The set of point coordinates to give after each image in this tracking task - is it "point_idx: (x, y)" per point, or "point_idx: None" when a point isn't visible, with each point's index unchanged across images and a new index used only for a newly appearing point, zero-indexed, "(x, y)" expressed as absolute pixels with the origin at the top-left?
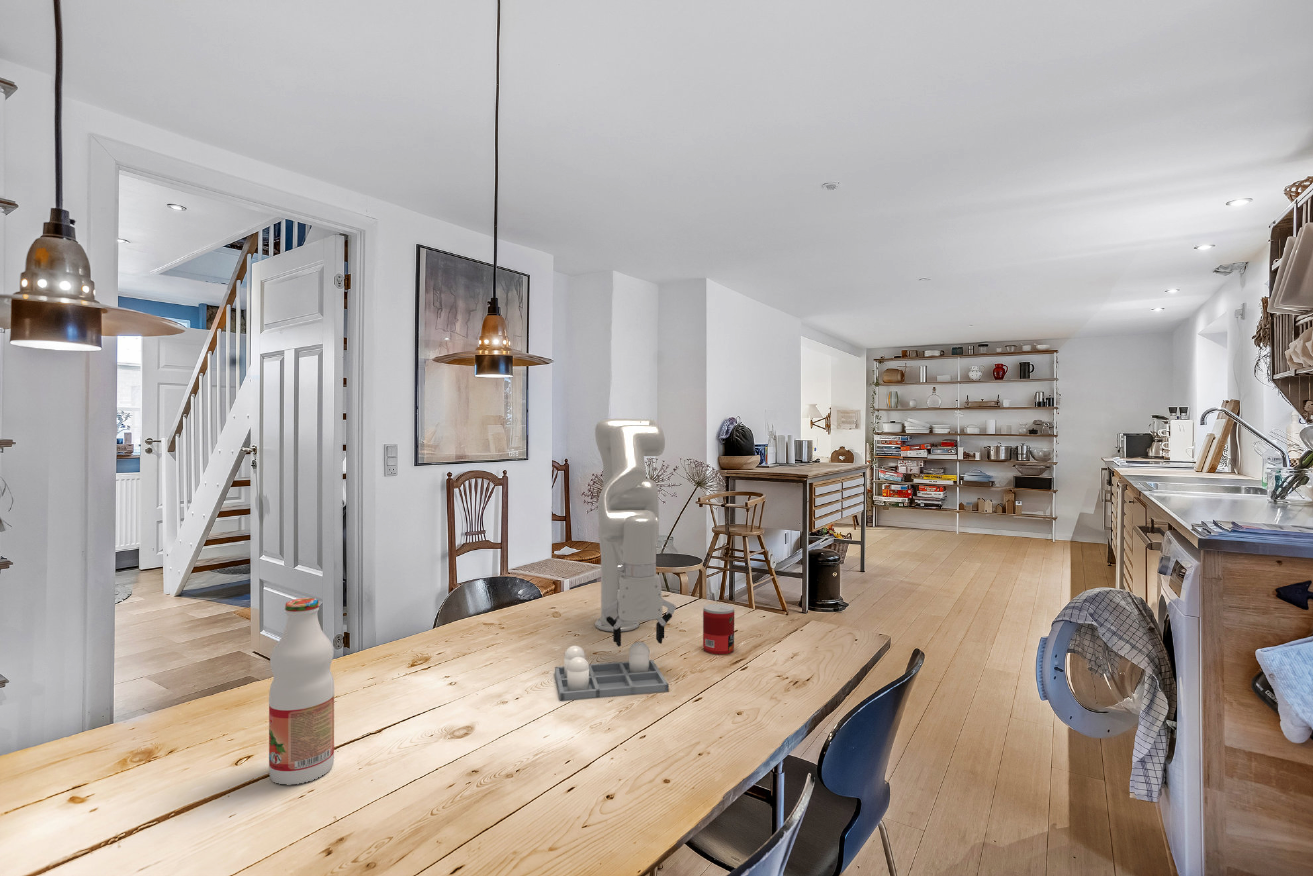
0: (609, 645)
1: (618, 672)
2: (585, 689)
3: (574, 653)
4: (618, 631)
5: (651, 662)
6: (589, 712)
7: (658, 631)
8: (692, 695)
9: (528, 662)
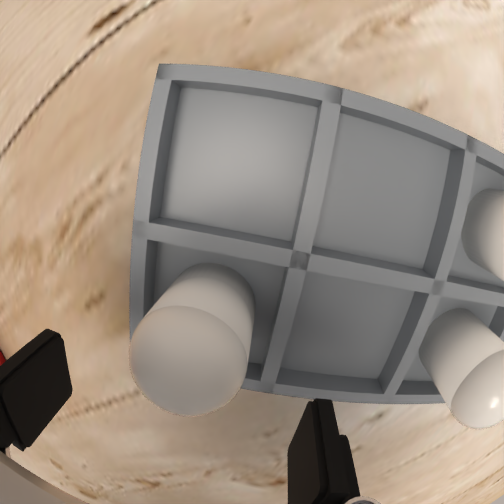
0: (223, 496)
1: (289, 345)
2: (492, 192)
3: None
4: (344, 480)
5: None
6: (488, 72)
7: (25, 386)
8: (105, 48)
9: (444, 458)
